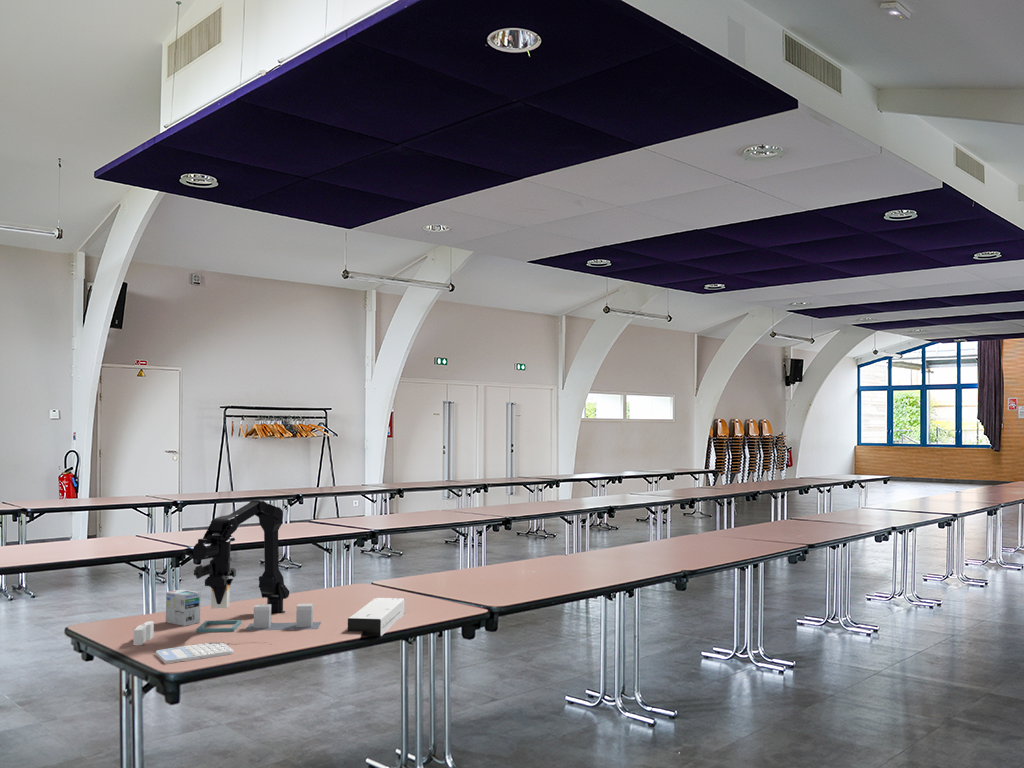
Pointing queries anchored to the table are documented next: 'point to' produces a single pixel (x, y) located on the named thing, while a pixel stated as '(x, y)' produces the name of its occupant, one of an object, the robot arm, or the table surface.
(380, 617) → the laminator
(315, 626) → the board
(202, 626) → the teal tray
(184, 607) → the light bulb box
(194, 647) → the calculator
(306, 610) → the block
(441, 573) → the table surface
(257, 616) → the block
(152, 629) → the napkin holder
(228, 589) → the block
